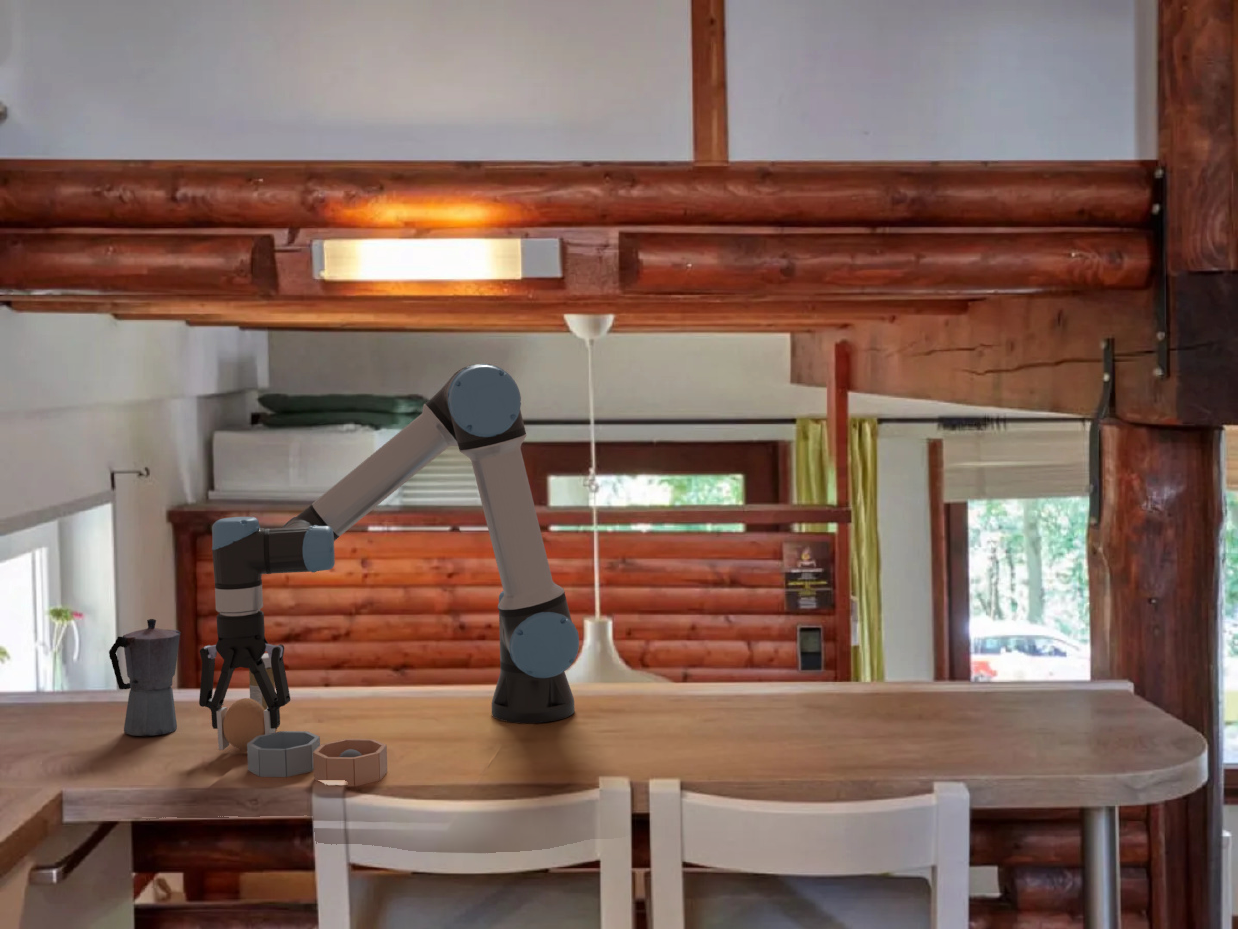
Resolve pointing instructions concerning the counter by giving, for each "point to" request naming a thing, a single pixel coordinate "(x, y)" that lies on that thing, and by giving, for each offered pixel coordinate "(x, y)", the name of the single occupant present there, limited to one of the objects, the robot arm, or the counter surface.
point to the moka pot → (148, 679)
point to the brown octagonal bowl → (351, 761)
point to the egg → (244, 722)
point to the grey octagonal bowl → (282, 753)
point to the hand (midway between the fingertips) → (247, 747)
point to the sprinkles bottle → (254, 688)
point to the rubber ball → (350, 753)
